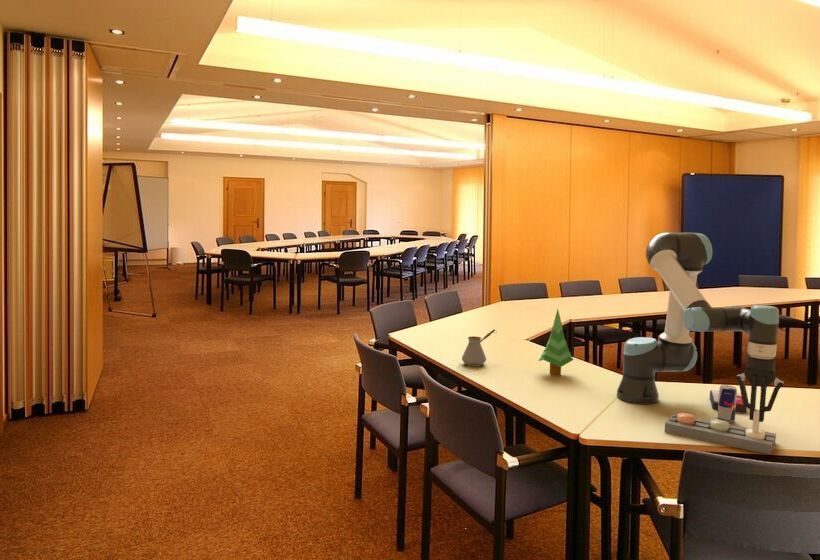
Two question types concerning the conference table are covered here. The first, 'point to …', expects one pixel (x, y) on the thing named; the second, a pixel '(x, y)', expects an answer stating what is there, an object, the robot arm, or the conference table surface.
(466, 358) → the coffee pot
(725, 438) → the button panel
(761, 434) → the white button
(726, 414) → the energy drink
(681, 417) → the terracotta button
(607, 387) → the conference table surface
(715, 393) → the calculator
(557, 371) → the decorative tree
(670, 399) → the conference table surface
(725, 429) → the sage button
